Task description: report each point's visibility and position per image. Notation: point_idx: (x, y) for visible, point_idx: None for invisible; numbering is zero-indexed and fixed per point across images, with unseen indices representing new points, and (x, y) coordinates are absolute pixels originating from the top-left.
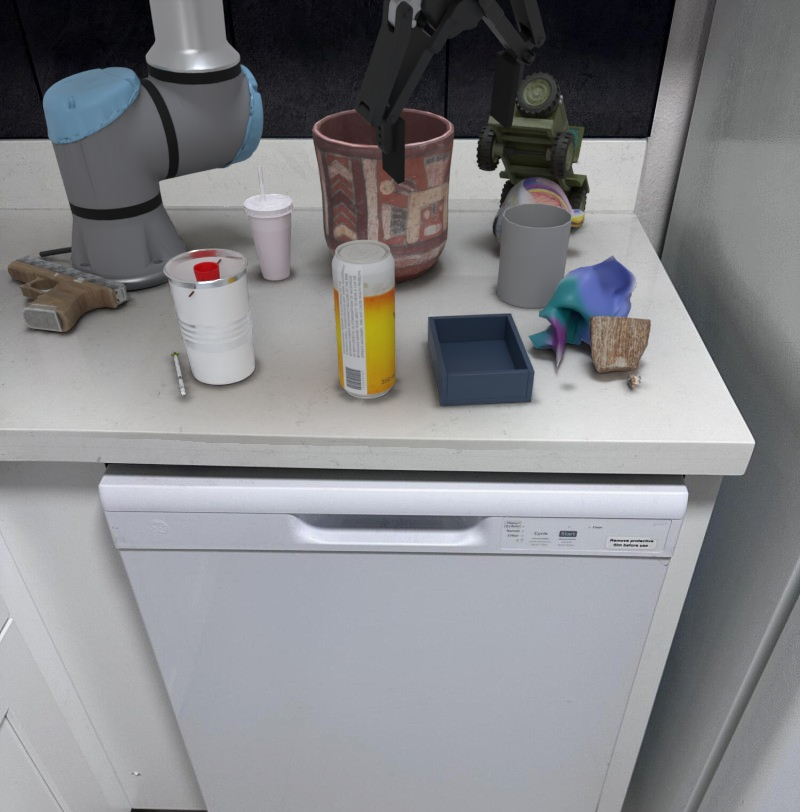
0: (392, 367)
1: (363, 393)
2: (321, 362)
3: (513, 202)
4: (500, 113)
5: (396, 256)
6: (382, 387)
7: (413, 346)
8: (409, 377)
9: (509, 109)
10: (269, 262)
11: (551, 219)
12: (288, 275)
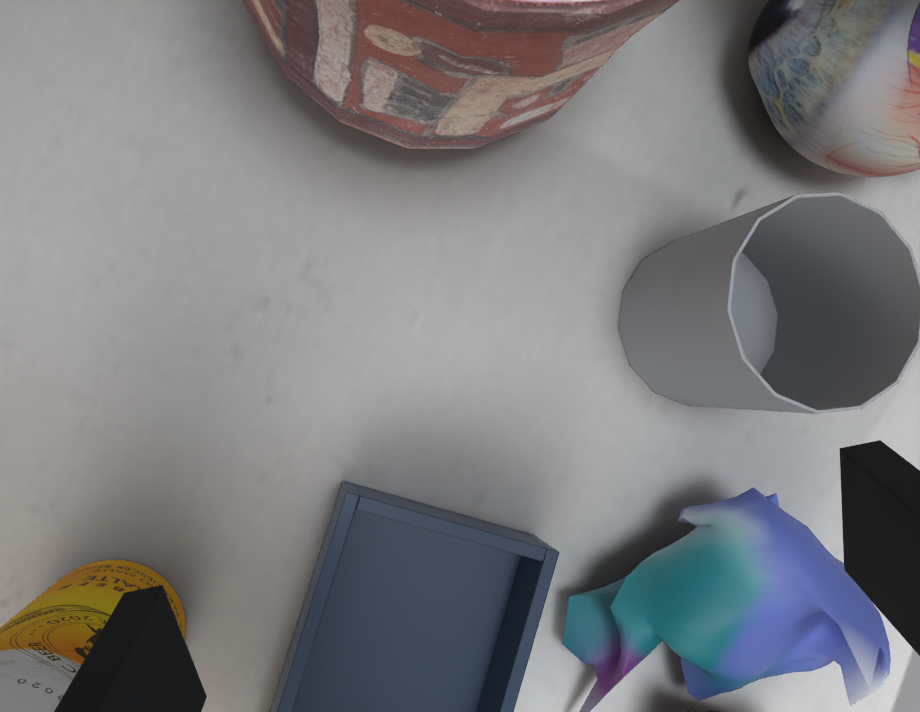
0: None
1: None
2: (40, 464)
3: (846, 48)
4: (874, 553)
5: (395, 139)
6: None
7: (306, 472)
8: (233, 616)
9: (914, 648)
10: None
11: (875, 254)
12: None
